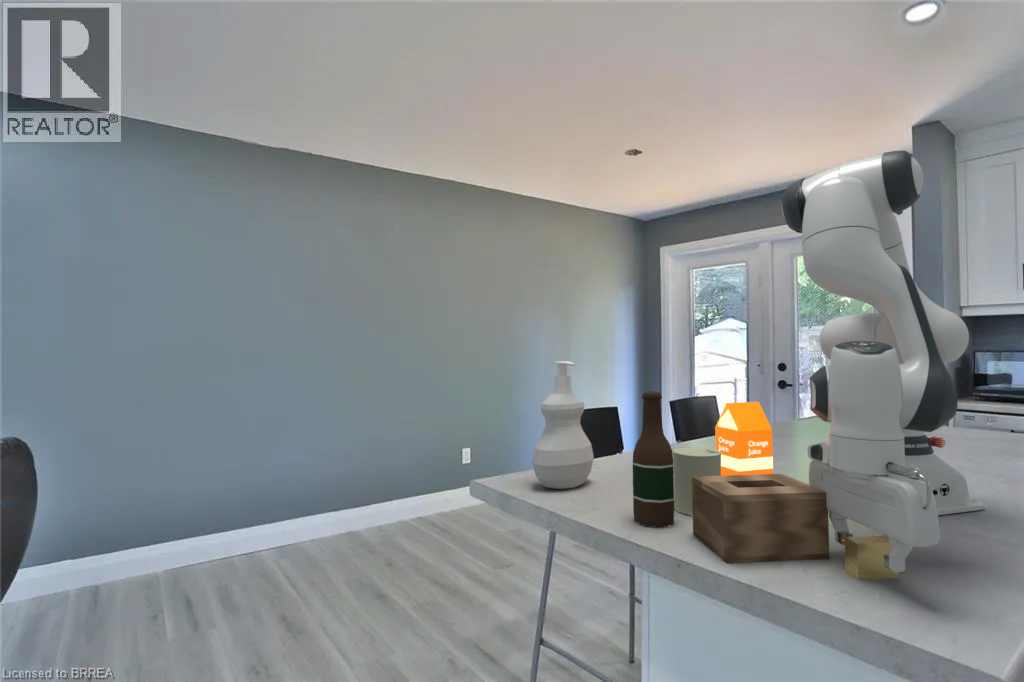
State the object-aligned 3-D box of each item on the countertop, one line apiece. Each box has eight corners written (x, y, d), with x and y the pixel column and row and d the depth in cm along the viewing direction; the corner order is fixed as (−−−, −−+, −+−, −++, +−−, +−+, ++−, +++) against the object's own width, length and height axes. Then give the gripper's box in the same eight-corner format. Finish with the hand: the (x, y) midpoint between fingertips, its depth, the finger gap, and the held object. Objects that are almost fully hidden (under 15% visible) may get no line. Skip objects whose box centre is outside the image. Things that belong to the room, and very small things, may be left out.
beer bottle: (627, 515, 101) (625, 390, 102) (666, 514, 102) (664, 389, 102) (640, 529, 94) (638, 393, 94) (682, 527, 94) (680, 392, 95)
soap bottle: (555, 496, 115) (553, 362, 116) (521, 486, 124) (519, 361, 124) (606, 483, 126) (604, 360, 126) (571, 475, 135) (569, 360, 135)
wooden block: (885, 570, 75) (884, 535, 75) (899, 578, 72) (898, 541, 73) (845, 572, 75) (844, 537, 75) (858, 580, 72) (857, 543, 72)
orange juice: (715, 491, 118) (714, 401, 119) (748, 487, 121) (746, 400, 121) (740, 500, 111) (738, 404, 111) (774, 496, 113) (772, 403, 114)
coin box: (782, 531, 91) (781, 473, 92) (829, 558, 79) (827, 491, 80) (693, 535, 90) (691, 476, 90) (726, 563, 78) (725, 495, 78)
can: (727, 518, 99) (725, 454, 99) (676, 515, 101) (674, 452, 101) (718, 504, 108) (716, 445, 108) (671, 502, 110) (670, 444, 110)
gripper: (953, 472, 64) (956, 588, 63) (838, 444, 84) (839, 531, 84) (904, 473, 63) (907, 589, 63) (800, 444, 84) (801, 532, 83)
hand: (867, 556), depth 74 cm, fingers open, 8 cm apart
